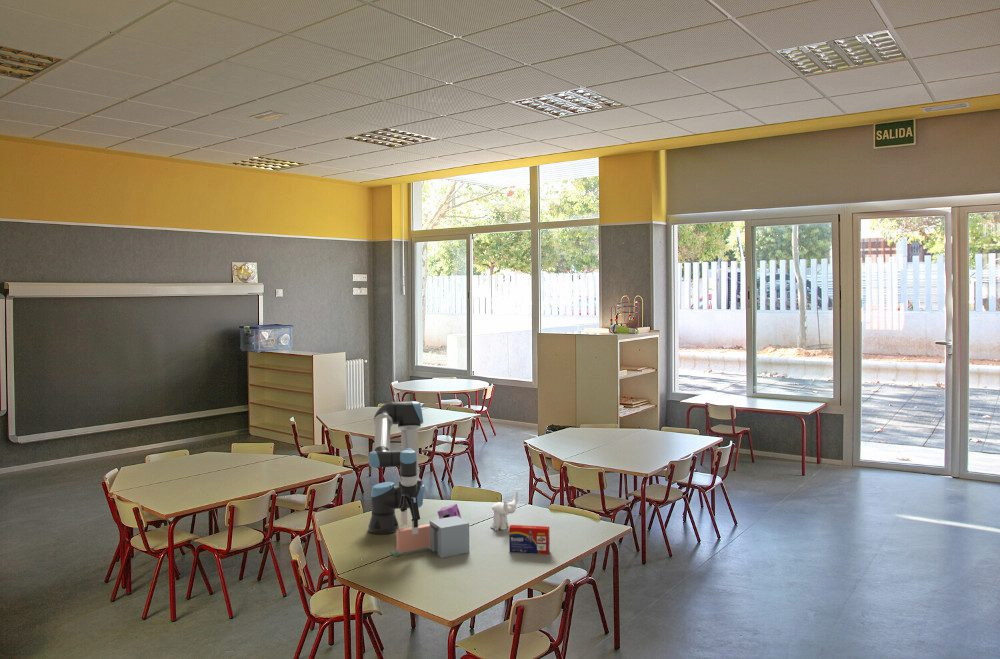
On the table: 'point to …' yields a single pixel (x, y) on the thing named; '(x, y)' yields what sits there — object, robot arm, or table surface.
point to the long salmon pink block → (412, 538)
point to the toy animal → (503, 513)
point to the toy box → (529, 539)
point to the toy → (449, 511)
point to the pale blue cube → (449, 536)
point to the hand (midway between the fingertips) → (409, 529)
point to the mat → (407, 552)
